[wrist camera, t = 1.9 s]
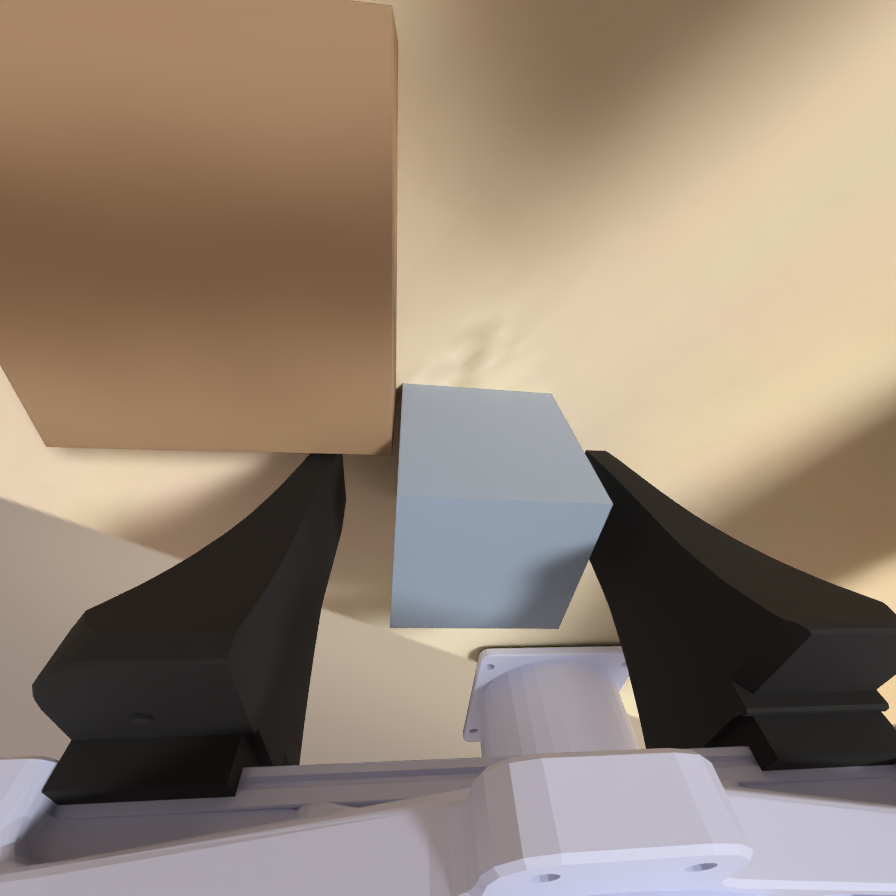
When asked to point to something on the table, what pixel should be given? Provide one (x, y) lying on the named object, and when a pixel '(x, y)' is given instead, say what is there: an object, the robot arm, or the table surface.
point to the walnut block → (200, 223)
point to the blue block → (490, 510)
